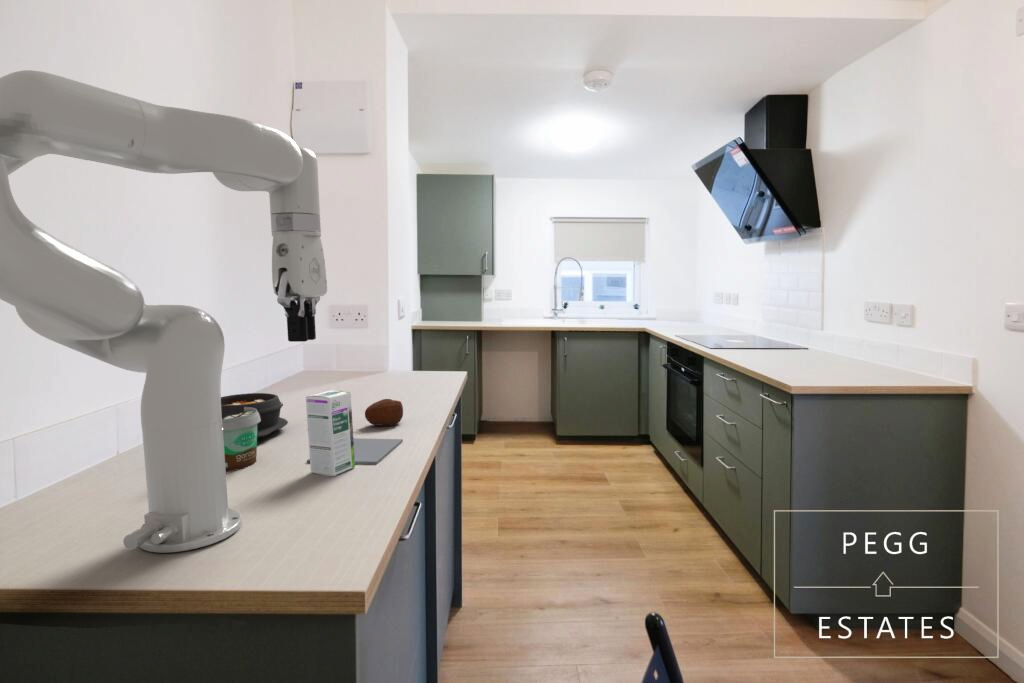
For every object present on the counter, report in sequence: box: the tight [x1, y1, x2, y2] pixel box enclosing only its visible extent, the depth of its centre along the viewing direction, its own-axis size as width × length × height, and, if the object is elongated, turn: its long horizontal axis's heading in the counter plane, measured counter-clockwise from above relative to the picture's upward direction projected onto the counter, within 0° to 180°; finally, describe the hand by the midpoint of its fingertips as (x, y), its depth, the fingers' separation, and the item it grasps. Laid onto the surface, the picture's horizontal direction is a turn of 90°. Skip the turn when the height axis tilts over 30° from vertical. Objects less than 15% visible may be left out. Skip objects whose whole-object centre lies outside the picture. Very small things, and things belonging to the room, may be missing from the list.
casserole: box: [221, 392, 289, 439], centre depth 135 cm, size 25×19×8 cm
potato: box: [364, 398, 404, 427], centre depth 141 cm, size 7×9×6 cm
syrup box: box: [305, 390, 356, 477], centre depth 107 cm, size 6×6×14 cm
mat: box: [306, 437, 404, 465], centre depth 119 cm, size 16×14×1 cm
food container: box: [222, 407, 261, 472], centre depth 111 cm, size 12×6×10 cm, turn 168°
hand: (302, 339), depth 96 cm, fingers closed
